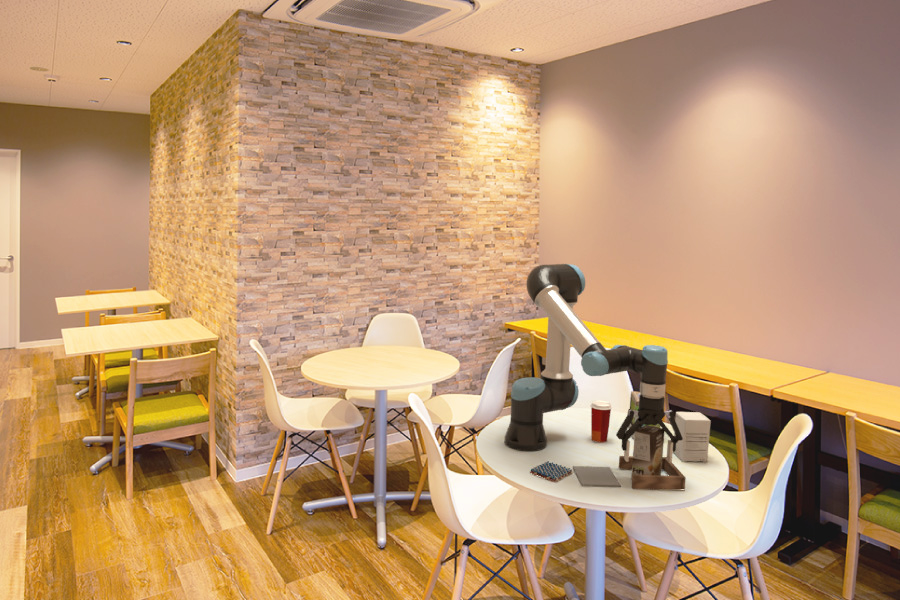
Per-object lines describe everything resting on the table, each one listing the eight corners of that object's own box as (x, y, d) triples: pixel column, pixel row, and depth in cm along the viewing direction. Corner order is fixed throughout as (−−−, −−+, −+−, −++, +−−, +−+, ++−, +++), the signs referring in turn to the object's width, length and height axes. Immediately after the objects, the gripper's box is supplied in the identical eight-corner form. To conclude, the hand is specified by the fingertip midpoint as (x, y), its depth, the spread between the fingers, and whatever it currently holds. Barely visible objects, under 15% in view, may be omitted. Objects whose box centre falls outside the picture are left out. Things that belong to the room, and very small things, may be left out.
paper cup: (608, 436, 236) (610, 400, 234) (611, 444, 229) (613, 406, 227) (587, 435, 237) (589, 399, 235) (589, 442, 229) (591, 405, 228)
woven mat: (527, 474, 201) (528, 468, 201) (546, 465, 209) (546, 459, 208) (555, 485, 194) (555, 478, 194) (573, 475, 202) (574, 469, 201)
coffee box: (650, 485, 194) (654, 435, 192) (630, 480, 198) (634, 430, 196) (661, 476, 201) (665, 428, 199) (642, 471, 205) (645, 423, 203)
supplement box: (671, 452, 223) (675, 411, 221) (696, 452, 223) (700, 411, 221) (681, 462, 214) (685, 419, 212) (707, 462, 214) (711, 420, 212)
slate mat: (581, 486, 192) (581, 484, 192) (572, 467, 206) (572, 466, 206) (620, 487, 192) (620, 485, 192) (609, 468, 206) (609, 466, 206)
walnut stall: (632, 488, 191) (633, 476, 191) (618, 467, 207) (619, 456, 207) (684, 490, 191) (685, 477, 191) (666, 468, 207) (667, 457, 207)
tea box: (660, 441, 233) (663, 403, 231) (632, 439, 234) (635, 401, 232) (653, 428, 247) (656, 391, 245) (627, 426, 249) (630, 390, 247)
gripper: (615, 397, 192) (611, 464, 195) (696, 399, 192) (691, 466, 195) (609, 391, 199) (605, 455, 202) (687, 392, 199) (682, 456, 202)
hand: (647, 460), depth 198 cm, fingers open, 13 cm apart
